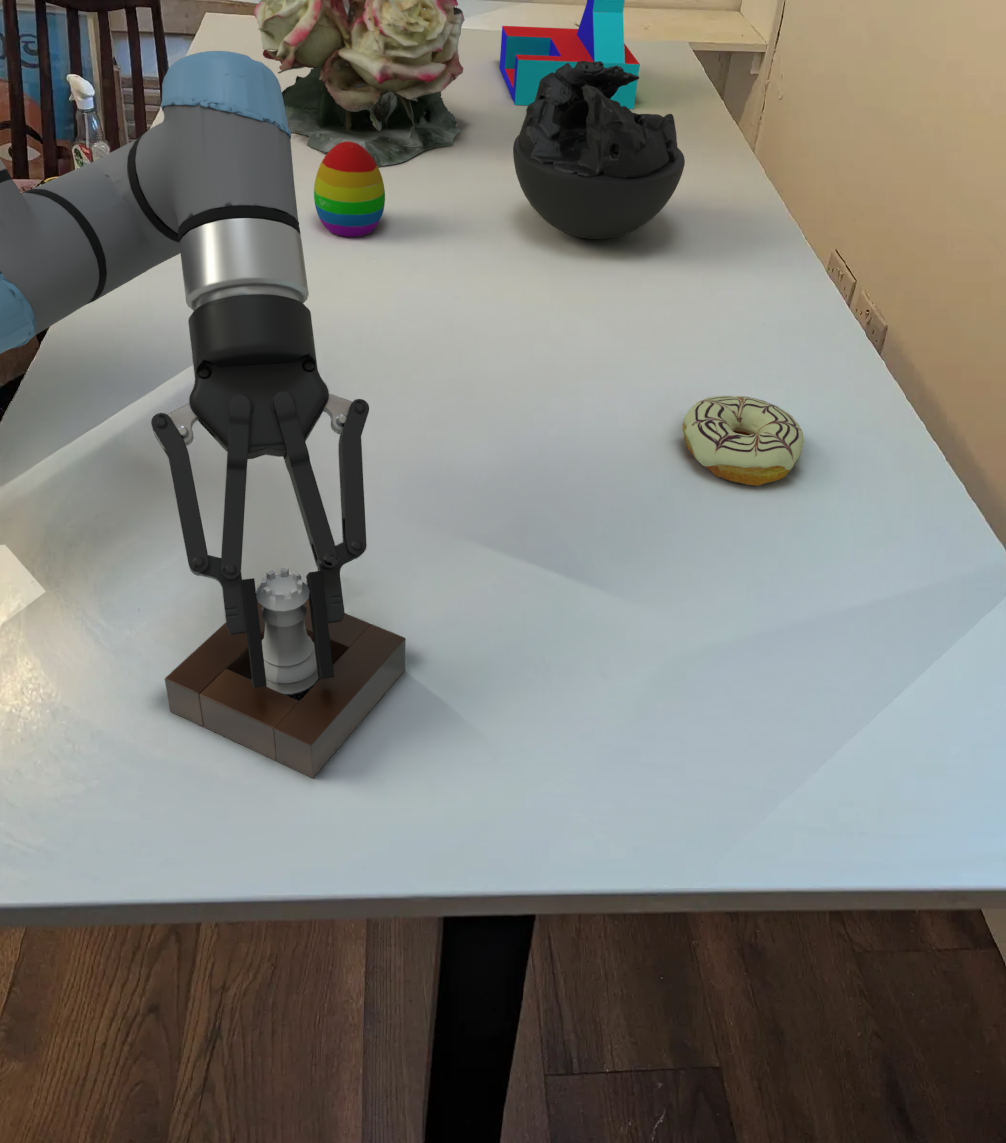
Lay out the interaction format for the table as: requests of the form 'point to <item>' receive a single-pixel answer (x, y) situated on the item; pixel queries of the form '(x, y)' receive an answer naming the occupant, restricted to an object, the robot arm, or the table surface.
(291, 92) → the rose bouquet
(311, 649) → the rook chess piece
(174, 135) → the robot arm
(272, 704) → the brown square frame
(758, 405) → the decorated donut
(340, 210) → the decorative egg
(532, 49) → the building blocks toy
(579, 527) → the table surface
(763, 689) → the table surface
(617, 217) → the coal bowl
